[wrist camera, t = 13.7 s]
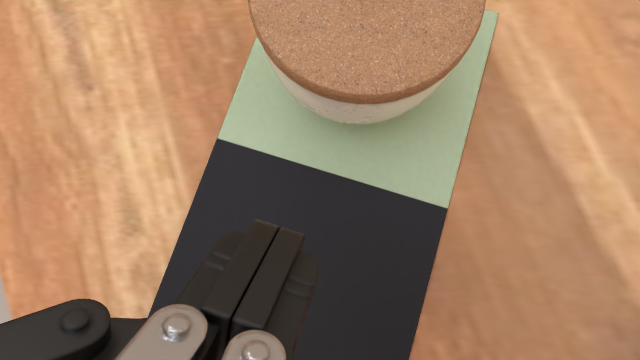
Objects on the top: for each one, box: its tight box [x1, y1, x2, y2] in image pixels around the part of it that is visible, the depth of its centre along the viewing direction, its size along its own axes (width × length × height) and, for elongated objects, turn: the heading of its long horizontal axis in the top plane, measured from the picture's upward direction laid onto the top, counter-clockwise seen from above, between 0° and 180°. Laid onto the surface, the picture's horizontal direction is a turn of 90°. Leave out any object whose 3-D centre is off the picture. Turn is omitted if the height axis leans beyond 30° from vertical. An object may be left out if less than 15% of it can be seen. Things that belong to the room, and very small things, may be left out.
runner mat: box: [148, 10, 498, 360], centre depth 27 cm, size 26×14×1 cm, turn 162°
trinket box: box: [248, 0, 485, 124], centre depth 23 cm, size 11×11×9 cm
